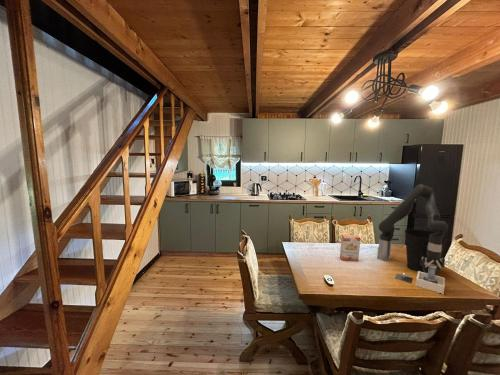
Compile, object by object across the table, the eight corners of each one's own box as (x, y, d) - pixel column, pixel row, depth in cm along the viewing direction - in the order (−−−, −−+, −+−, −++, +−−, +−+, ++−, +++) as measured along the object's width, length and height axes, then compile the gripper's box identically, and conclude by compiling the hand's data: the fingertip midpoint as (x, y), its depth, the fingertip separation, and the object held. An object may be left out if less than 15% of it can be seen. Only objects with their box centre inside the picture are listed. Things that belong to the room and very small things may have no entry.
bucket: (424, 279, 175) (429, 239, 171) (392, 263, 201) (396, 228, 197) (451, 275, 182) (457, 237, 178) (417, 260, 208) (421, 226, 205)
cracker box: (341, 260, 204) (343, 236, 201) (339, 257, 210) (341, 234, 207) (358, 261, 202) (360, 237, 200) (356, 258, 208) (358, 235, 206)
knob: (422, 282, 168) (425, 263, 166) (431, 283, 168) (433, 263, 166) (428, 287, 163) (431, 267, 161) (436, 287, 163) (439, 267, 161)
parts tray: (415, 286, 164) (416, 278, 164) (417, 278, 176) (418, 271, 175) (443, 295, 155) (444, 286, 154) (443, 285, 167) (444, 277, 166)
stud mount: (394, 279, 173) (395, 273, 173) (396, 274, 181) (397, 268, 181) (411, 284, 167) (412, 277, 167) (412, 279, 175) (413, 272, 174)
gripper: (441, 248, 165) (438, 270, 168) (419, 246, 166) (416, 269, 169) (449, 252, 158) (446, 275, 160) (426, 251, 159) (423, 274, 161)
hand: (431, 272), depth 164 cm, fingers open, 8 cm apart
